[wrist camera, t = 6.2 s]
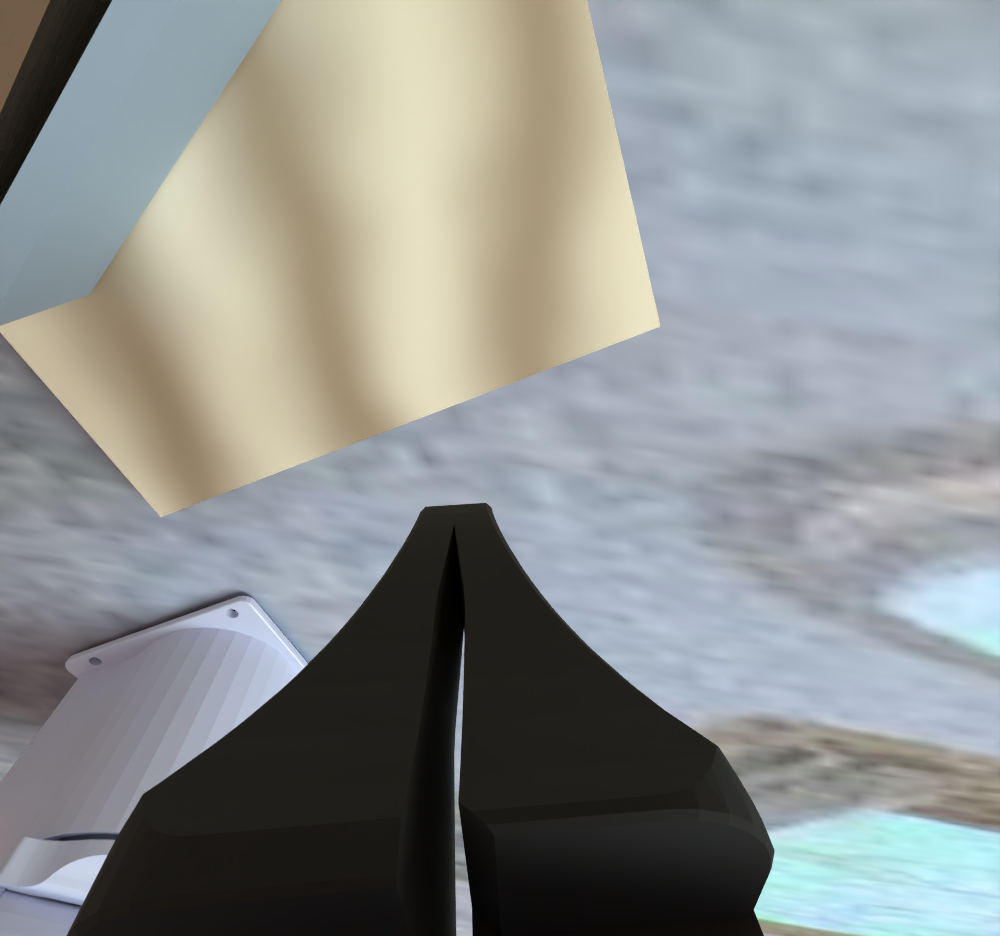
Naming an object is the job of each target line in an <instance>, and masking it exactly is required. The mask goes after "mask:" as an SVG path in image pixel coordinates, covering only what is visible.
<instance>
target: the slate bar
mask: <svg viewBox="0 0 1000 936" xmlns="http://www.w3.org/2000/svg"><path fill="white" fill-rule="evenodd" d="M281 1H282V0H112V2H111V4H110V5H109V7H108V9H107V11H106V13H105V15H104V16H103V18H102V20H101V22H100V24H99V26H98V27H97V29H96V31H95V33H94V35H93V37H92V38H91V40H90V42H89V44H88V46H87V48H86V49H85V51H84V53H83V55H82V57H81V59H80V60H79V62H78V64H77V66H76V68H75V69H74V71H73V73H72V75H71V77H70V79H69V80H68V82H67V84H66V86H65V88H64V90H63V91H62V93H61V95H60V97H59V99H58V101H57V102H56V104H55V106H54V108H53V110H52V112H51V113H50V115H49V117H48V119H47V121H46V123H45V124H44V126H43V128H42V130H41V132H40V134H39V135H38V137H37V139H36V141H35V143H34V145H33V146H32V148H31V150H30V152H29V154H28V155H27V157H26V159H25V161H24V163H23V165H22V166H21V168H20V170H19V172H18V174H17V176H16V177H15V179H14V181H13V183H12V185H11V187H10V188H9V190H8V192H7V194H6V196H5V198H4V199H3V201H2V203H1V205H0V326H1V325H4V324H7V323H10V322H13V321H16V320H18V319H21V318H24V317H27V316H30V315H33V314H36V313H38V312H41V311H44V310H47V309H50V308H53V307H56V306H59V305H61V304H64V303H67V302H70V301H73V300H76V299H79V298H81V297H84V296H87V295H90V293H91V291H92V290H93V288H94V287H95V285H96V284H97V282H98V281H99V279H100V278H101V276H102V275H103V273H104V272H105V270H106V269H107V267H108V266H109V264H110V262H111V261H112V259H113V258H114V256H115V255H116V253H117V252H118V250H119V249H120V247H121V246H122V244H123V243H124V241H125V240H126V238H127V236H128V235H129V233H130V232H131V230H132V229H133V227H134V226H135V224H136V223H137V221H138V220H139V218H140V217H141V215H142V214H143V212H144V210H145V209H146V207H147V206H148V204H149V203H150V201H151V200H152V198H153V197H154V195H155V194H156V192H157V191H158V189H159V188H160V186H161V184H162V183H163V181H164V180H165V178H166V177H167V175H168V174H169V172H170V171H171V169H172V168H173V166H174V165H175V163H176V162H177V160H178V159H179V157H180V155H181V154H182V152H183V151H184V149H185V148H186V146H187V145H188V143H189V142H190V140H191V139H192V137H193V136H194V134H195V133H196V131H197V129H198V128H199V126H200V125H201V123H202V122H203V120H204V119H205V117H206V116H207V114H208V113H209V111H210V110H211V108H212V107H213V105H214V103H215V102H216V100H217V99H218V97H219V96H220V94H221V93H222V91H223V90H224V88H225V87H226V85H227V84H228V82H229V81H230V79H231V77H232V76H233V74H234V73H235V71H236V70H237V68H238V67H239V65H240V64H241V62H242V61H243V59H244V58H245V56H246V55H247V53H248V52H249V50H250V48H251V47H252V45H253V44H254V42H255V41H256V39H257V38H258V36H259V35H260V33H261V32H262V30H263V29H264V27H265V26H266V24H267V22H268V21H269V19H270V18H271V16H272V15H273V13H274V12H275V10H276V9H277V7H278V6H279V4H280V3H281Z"/></svg>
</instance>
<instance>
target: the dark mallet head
mask: <svg viewBox="0 0 1000 936" xmlns="http://www.w3.org/2000/svg"><path fill="white" fill-rule="evenodd" d="M111 2H112V0H0V205H1V203H2V201H3V199H4V198H5V196H6V194H7V192H8V190H9V188H10V187H11V185H12V183H13V181H14V179H15V177H16V176H17V174H18V172H19V170H20V168H21V166H22V165H23V163H24V161H25V159H26V157H27V155H28V154H29V152H30V150H31V148H32V146H33V145H34V143H35V141H36V139H37V137H38V135H39V134H40V132H41V130H42V128H43V126H44V124H45V123H46V121H47V119H48V117H49V115H50V113H51V112H52V110H53V108H54V106H55V104H56V102H57V101H58V99H59V97H60V95H61V93H62V91H63V90H64V88H65V86H66V84H67V82H68V80H69V79H70V77H71V75H72V73H73V71H74V69H75V68H76V66H77V64H78V62H79V60H80V59H81V57H82V55H83V53H84V51H85V49H86V48H87V46H88V44H89V42H90V40H91V38H92V37H93V35H94V33H95V31H96V29H97V27H98V26H99V24H100V22H101V20H102V18H103V16H104V15H105V13H106V11H107V9H108V7H109V5H110V4H111Z"/></svg>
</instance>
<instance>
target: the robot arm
mask: <svg viewBox="0 0 1000 936" xmlns="http://www.w3.org/2000/svg"><path fill="white" fill-rule="evenodd" d="M231 609H233V610H236V611H232V610H231ZM463 631H464V632H465V648H464V690H463V721H462V743H461V765H460V785H459V810H460V818H461V825H462V833H463V841H464V848H465V856H466V864H467V872H468V879H469V887H470V895H471V902H472V925H473V936H764V935H763V933H762V930H761V928H760V925H759V923H758V920H757V917H756V915H755V912H754V907H755V905H756V903H757V901H758V898H759V896H760V894H761V891H762V889H763V887H764V885H765V882H766V880H767V878H768V875H769V873H770V870H771V868H772V862H773V857H774V848H773V846H772V843H771V841H770V838H769V836H768V833H767V831H766V828H765V826H764V824H763V821H762V819H761V817H760V815H759V813H758V811H757V809H756V807H755V805H754V803H753V802H752V800H751V798H750V796H749V795H748V793H747V791H746V790H745V788H744V786H743V785H742V783H741V781H740V780H739V778H738V776H737V775H736V773H735V772H734V770H733V768H732V767H731V765H730V764H729V762H728V760H727V759H726V757H725V756H724V754H723V753H722V751H721V750H720V748H719V747H718V746H717V745H715V744H714V743H712V742H711V741H709V740H708V739H706V738H705V737H703V736H702V735H701V734H699V733H698V732H696V731H695V730H693V729H692V728H690V727H689V726H687V725H686V724H684V723H683V722H681V721H680V720H678V719H677V718H675V717H674V716H672V715H671V714H669V713H668V712H666V711H665V710H664V709H662V708H661V707H660V706H658V705H657V704H656V703H654V702H653V701H652V700H651V699H649V698H648V697H647V696H646V695H644V694H643V693H642V692H640V691H639V690H638V689H637V688H635V687H634V686H633V685H631V684H630V683H629V682H628V681H627V680H626V679H625V678H623V677H622V676H621V675H620V674H619V673H618V672H617V671H616V670H614V669H613V668H612V667H611V666H610V665H609V664H608V663H607V662H605V661H604V660H603V659H602V658H601V657H600V656H599V655H597V654H596V653H595V652H594V651H593V650H592V649H591V648H590V647H589V646H588V645H587V644H586V643H585V642H584V641H583V640H582V639H581V638H580V637H579V636H578V635H577V634H576V633H575V632H574V631H573V630H572V629H571V628H570V627H569V626H568V625H567V624H566V622H565V621H564V620H563V619H562V618H561V617H560V616H559V615H558V614H557V612H556V611H555V610H554V609H553V608H552V607H551V605H550V604H549V603H548V602H547V600H546V599H545V598H544V597H543V596H542V594H541V593H540V592H539V590H538V589H537V588H536V586H535V585H534V584H533V582H532V581H531V580H530V578H529V577H528V575H527V574H526V572H525V571H524V570H523V568H522V567H521V565H520V563H519V562H518V560H517V559H516V557H515V556H514V554H513V552H512V551H511V549H510V548H509V546H508V544H507V542H506V541H505V539H504V537H503V535H502V533H501V531H500V529H499V527H498V525H497V523H496V520H495V518H494V515H493V512H492V508H491V507H490V506H489V505H488V504H487V503H478V504H462V505H447V506H431V507H425V508H424V509H423V510H422V511H421V512H420V514H419V517H418V519H417V521H416V523H415V525H414V527H413V529H412V530H411V532H410V534H409V536H408V537H407V539H406V541H405V543H404V544H403V546H402V548H401V549H400V551H399V552H398V554H397V555H396V557H395V559H394V560H393V562H392V563H391V565H390V566H389V568H388V569H387V571H386V572H385V574H384V575H383V577H382V578H381V580H380V581H379V582H378V584H377V585H376V586H375V588H374V589H373V590H372V592H371V593H370V594H369V596H368V597H367V598H366V600H365V601H364V602H363V604H362V605H361V606H360V607H359V609H358V610H357V611H356V612H355V614H354V615H353V616H352V617H351V618H350V620H349V621H348V622H347V623H346V624H345V625H344V627H343V628H342V629H341V630H340V631H339V632H338V633H337V634H336V635H335V637H334V638H333V639H332V640H331V641H330V642H329V643H328V644H327V645H326V646H325V647H324V648H323V649H322V650H321V651H320V652H319V653H318V654H317V655H316V656H315V657H314V658H313V659H312V660H311V661H310V662H309V663H307V662H306V661H305V660H304V658H303V657H302V656H301V655H300V654H299V652H298V651H297V650H296V649H295V648H294V646H293V645H292V644H291V643H290V642H289V640H288V639H287V638H286V637H285V636H284V635H283V633H282V632H281V631H280V630H279V629H278V627H277V626H276V625H275V624H274V623H273V621H272V620H271V619H270V618H269V617H268V616H267V614H266V613H265V612H264V611H263V610H262V608H261V607H260V606H259V605H258V604H257V602H256V601H255V600H254V599H252V598H251V597H248V596H238V597H235V598H232V599H229V600H227V601H224V602H221V603H218V604H215V605H212V606H210V607H207V608H204V609H201V610H198V611H196V612H193V613H190V614H187V615H184V616H181V617H179V618H176V619H173V620H170V621H167V622H164V623H162V624H159V625H156V626H153V627H150V628H147V629H145V630H142V631H139V632H136V633H133V634H130V635H128V636H125V637H122V638H119V639H116V640H113V641H111V642H108V643H105V644H102V645H99V646H97V647H94V648H91V649H88V650H85V651H82V652H80V653H77V654H74V655H72V656H70V658H69V659H68V660H67V661H66V663H65V667H66V669H67V670H68V671H69V672H70V673H71V674H73V675H74V676H75V677H76V678H77V681H76V682H75V683H74V685H73V686H72V687H71V689H70V690H69V691H68V693H67V694H66V695H65V697H64V698H63V699H62V701H61V702H60V703H59V705H58V706H57V707H56V709H55V710H54V711H53V713H52V714H51V715H50V717H49V718H48V719H47V721H46V722H45V723H44V725H43V726H42V727H41V729H40V730H39V732H38V733H37V734H36V736H35V737H34V738H33V740H32V741H31V742H30V744H29V745H28V746H27V748H26V749H25V750H24V752H23V753H22V754H21V756H20V757H19V758H18V760H17V761H16V762H15V764H14V765H13V766H12V768H11V769H10V770H9V772H8V773H7V774H6V776H5V777H4V778H3V780H2V781H1V783H0V936H456V897H455V811H454V746H455V727H456V715H457V703H458V691H459V680H460V668H461V656H462V644H463Z"/></svg>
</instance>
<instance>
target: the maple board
mask: <svg viewBox="0 0 1000 936" xmlns="http://www.w3.org/2000/svg"><path fill="white" fill-rule="evenodd" d="M657 327H660V323H659V318H658V314H657V309H656V305H655V301H654V296H653V292H652V287H651V283H650V278H649V274H648V269H647V265H646V261H645V256H644V252H643V247H642V243H641V238H640V234H639V229H638V225H637V221H636V216H635V212H634V207H633V203H632V198H631V194H630V189H629V185H628V181H627V176H626V172H625V167H624V163H623V158H622V154H621V150H620V145H619V141H618V136H617V132H616V127H615V123H614V118H613V114H612V110H611V105H610V101H609V96H608V92H607V87H606V83H605V78H604V74H603V70H602V65H601V61H600V56H599V52H598V47H597V43H596V38H595V34H594V30H593V25H592V21H591V16H590V12H589V7H588V3H587V0H282V1H281V3H280V4H279V6H278V7H277V9H276V10H275V12H274V13H273V15H272V16H271V18H270V19H269V21H268V22H267V24H266V26H265V27H264V29H263V30H262V32H261V33H260V35H259V36H258V38H257V39H256V41H255V42H254V44H253V45H252V47H251V48H250V50H249V52H248V53H247V55H246V56H245V58H244V59H243V61H242V62H241V64H240V65H239V67H238V68H237V70H236V71H235V73H234V74H233V76H232V77H231V79H230V81H229V82H228V84H227V85H226V87H225V88H224V90H223V91H222V93H221V94H220V96H219V97H218V99H217V100H216V102H215V103H214V105H213V107H212V108H211V110H210V111H209V113H208V114H207V116H206V117H205V119H204V120H203V122H202V123H201V125H200V126H199V128H198V129H197V131H196V133H195V134H194V136H193V137H192V139H191V140H190V142H189V143H188V145H187V146H186V148H185V149H184V151H183V152H182V154H181V155H180V157H179V159H178V160H177V162H176V163H175V165H174V166H173V168H172V169H171V171H170V172H169V174H168V175H167V177H166V178H165V180H164V181H163V183H162V184H161V186H160V188H159V189H158V191H157V192H156V194H155V195H154V197H153V198H152V200H151V201H150V203H149V204H148V206H147V207H146V209H145V210H144V212H143V214H142V215H141V217H140V218H139V220H138V221H137V223H136V224H135V226H134V227H133V229H132V230H131V232H130V233H129V235H128V236H127V238H126V240H125V241H124V243H123V244H122V246H121V247H120V249H119V250H118V252H117V253H116V255H115V256H114V258H113V259H112V261H111V262H110V264H109V266H108V267H107V269H106V270H105V272H104V273H103V275H102V276H101V278H100V279H99V281H98V282H97V284H96V285H95V287H94V288H93V290H92V291H91V293H90V295H87V296H84V297H81V298H79V299H76V300H73V301H70V302H67V303H64V304H61V305H59V306H56V307H53V308H50V309H47V310H44V311H41V312H38V313H36V314H33V315H30V316H27V317H24V318H21V319H18V320H16V321H13V322H10V323H7V324H4V325H1V326H0V333H1V334H2V335H3V336H4V337H5V338H6V340H7V341H8V342H9V343H10V344H11V345H12V346H13V348H14V349H15V350H16V351H17V352H18V353H19V355H20V356H21V357H22V358H23V359H24V360H25V361H26V363H27V364H28V365H29V366H30V367H31V368H32V369H33V371H34V372H35V373H36V374H37V375H38V376H39V378H40V379H41V380H42V381H43V382H44V383H45V384H46V386H47V387H48V388H49V389H50V390H51V391H52V392H53V394H54V395H55V396H56V397H57V398H58V399H59V401H60V402H61V403H62V404H63V405H64V406H65V407H66V409H67V410H68V411H69V412H70V413H71V414H72V416H73V417H74V418H75V419H76V420H77V421H78V422H79V424H80V425H81V426H82V427H83V428H84V429H85V430H86V432H87V433H88V434H89V435H90V436H91V437H92V439H93V440H94V441H95V442H96V443H97V444H98V445H99V447H100V448H101V449H102V450H103V451H104V452H105V453H106V455H107V456H108V457H109V458H110V459H111V460H112V462H113V463H114V464H115V465H116V466H117V467H118V468H119V470H120V471H121V472H122V473H123V474H124V475H125V476H126V478H127V479H128V480H129V481H130V482H131V483H132V485H133V486H134V487H135V488H136V489H137V490H138V491H139V493H140V494H141V495H142V496H143V497H144V498H145V499H146V501H147V502H148V503H149V504H150V505H151V506H152V508H153V509H154V510H155V511H156V512H157V513H158V514H159V516H160V517H163V516H165V515H168V514H171V513H173V512H176V511H178V510H181V509H184V508H186V507H189V506H192V505H194V504H197V503H199V502H202V501H205V500H207V499H210V498H212V497H215V496H218V495H220V494H223V493H226V492H228V491H231V490H233V489H236V488H239V487H241V486H244V485H246V484H249V483H252V482H254V481H257V480H260V479H262V478H265V477H267V476H270V475H273V474H275V473H278V472H281V471H283V470H286V469H288V468H291V467H294V466H296V465H299V464H301V463H304V462H307V461H309V460H312V459H315V458H317V457H320V456H322V455H325V454H328V453H330V452H333V451H335V450H338V449H341V448H343V447H346V446H349V445H351V444H354V443H356V442H359V441H362V440H364V439H367V438H369V437H372V436H375V435H377V434H380V433H383V432H385V431H388V430H390V429H393V428H396V427H398V426H401V425H404V424H406V423H409V422H411V421H414V420H417V419H419V418H422V417H424V416H427V415H430V414H432V413H435V412H438V411H440V410H443V409H445V408H448V407H451V406H453V405H456V404H458V403H461V402H464V401H466V400H469V399H472V398H474V397H477V396H479V395H482V394H485V393H487V392H490V391H493V390H495V389H498V388H500V387H503V386H506V385H508V384H511V383H513V382H516V381H519V380H521V379H524V378H527V377H529V376H532V375H534V374H537V373H540V372H542V371H545V370H547V369H550V368H553V367H555V366H558V365H561V364H563V363H566V362H568V361H571V360H574V359H576V358H579V357H582V356H584V355H587V354H589V353H592V352H595V351H597V350H600V349H602V348H605V347H608V346H610V345H613V344H616V343H618V342H621V341H623V340H626V339H629V338H631V337H634V336H636V335H639V334H642V333H644V332H647V331H650V330H652V329H655V328H657Z"/></svg>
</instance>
